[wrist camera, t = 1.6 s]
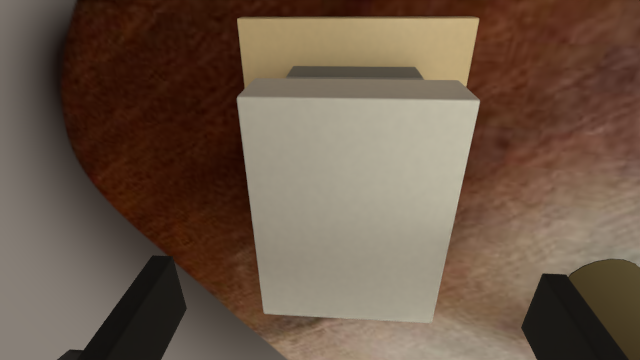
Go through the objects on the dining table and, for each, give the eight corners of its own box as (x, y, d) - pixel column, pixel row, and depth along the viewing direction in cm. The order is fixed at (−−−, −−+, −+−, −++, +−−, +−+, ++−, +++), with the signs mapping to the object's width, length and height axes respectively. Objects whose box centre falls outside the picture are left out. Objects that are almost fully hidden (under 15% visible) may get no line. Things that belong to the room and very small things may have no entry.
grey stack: (241, 16, 20) (203, 29, 15) (474, 16, 19) (519, 29, 14) (265, 237, 28) (245, 295, 23) (431, 244, 27) (450, 306, 22)
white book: (254, 77, 16) (235, 96, 13) (459, 79, 15) (481, 100, 13) (273, 274, 22) (263, 314, 19) (422, 281, 21) (432, 324, 19)
